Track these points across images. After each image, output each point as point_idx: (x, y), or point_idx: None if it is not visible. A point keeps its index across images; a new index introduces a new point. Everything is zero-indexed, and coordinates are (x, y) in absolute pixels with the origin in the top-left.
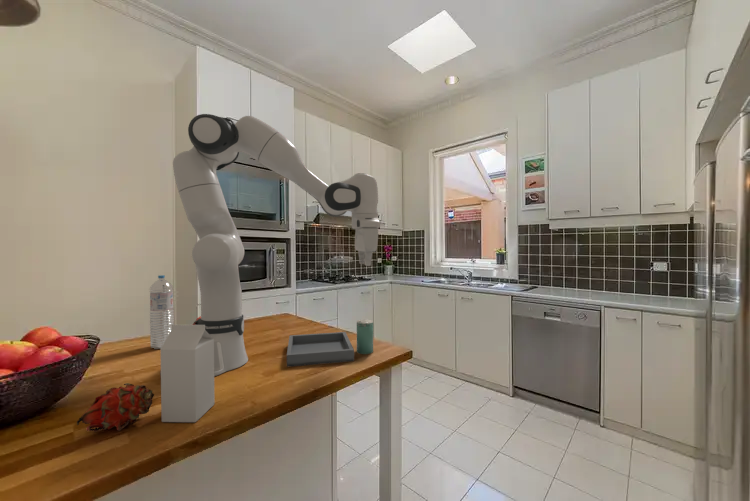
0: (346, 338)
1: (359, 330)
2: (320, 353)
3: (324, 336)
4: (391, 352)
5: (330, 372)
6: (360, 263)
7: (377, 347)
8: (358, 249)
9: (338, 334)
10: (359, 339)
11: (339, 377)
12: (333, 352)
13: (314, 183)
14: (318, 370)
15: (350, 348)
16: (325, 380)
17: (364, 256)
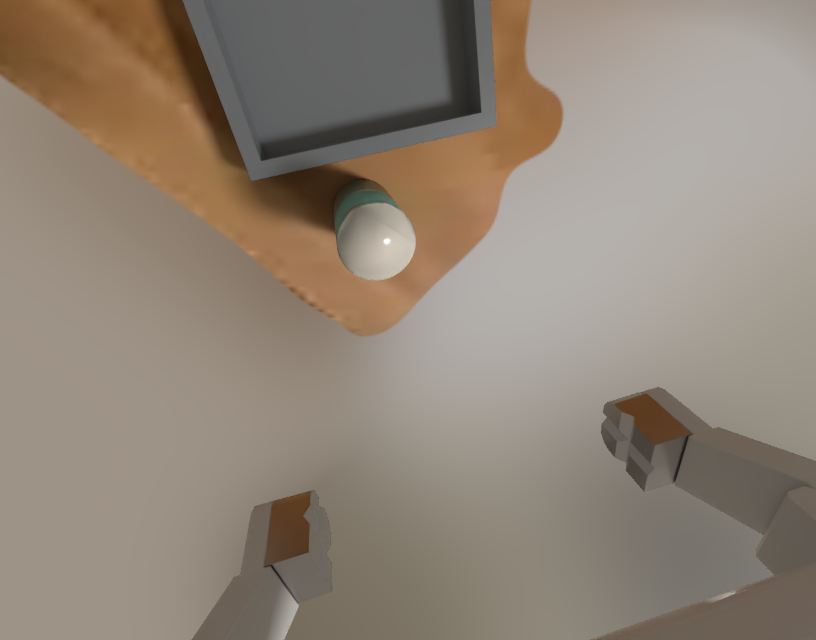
0: (398, 138)
1: (342, 211)
2: (189, 15)
3: (470, 10)
4: (353, 297)
5: (125, 83)
6: (608, 403)
7: None
8: (740, 623)
9: (477, 91)
10: (341, 202)
11: (89, 126)
12: (216, 86)
13: None
14: (131, 22)
15: (266, 164)
16: (40, 68)
17: (717, 506)
